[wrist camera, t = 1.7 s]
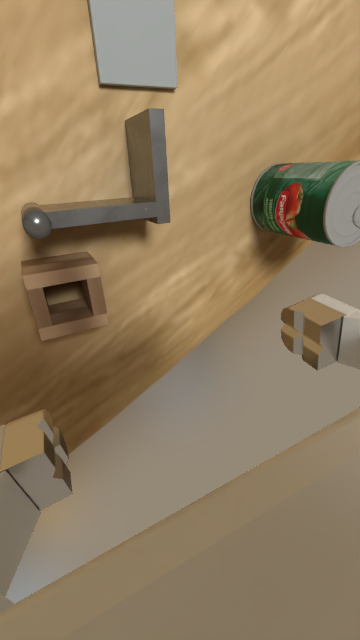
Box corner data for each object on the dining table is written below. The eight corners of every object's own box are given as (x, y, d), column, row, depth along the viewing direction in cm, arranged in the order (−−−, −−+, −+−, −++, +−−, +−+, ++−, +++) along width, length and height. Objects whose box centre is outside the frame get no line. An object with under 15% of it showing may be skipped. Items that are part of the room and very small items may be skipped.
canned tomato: (238, 207, 35) (313, 218, 27) (276, 148, 34) (365, 138, 26) (274, 242, 40) (347, 261, 31) (308, 190, 39) (393, 195, 30)
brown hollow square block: (38, 319, 30) (41, 341, 26) (21, 261, 27) (21, 276, 23) (97, 306, 32) (108, 324, 28) (87, 251, 30) (98, 263, 26)
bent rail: (25, 228, 26) (28, 244, 20) (-5, 118, 23) (-13, 97, 17) (146, 215, 31) (178, 224, 25) (137, 120, 27) (172, 104, 21)
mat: (99, 84, 25) (100, 82, 24) (82, -36, 21) (84, -41, 21) (174, 89, 27) (177, 87, 27) (169, -18, 24) (173, -22, 24)
